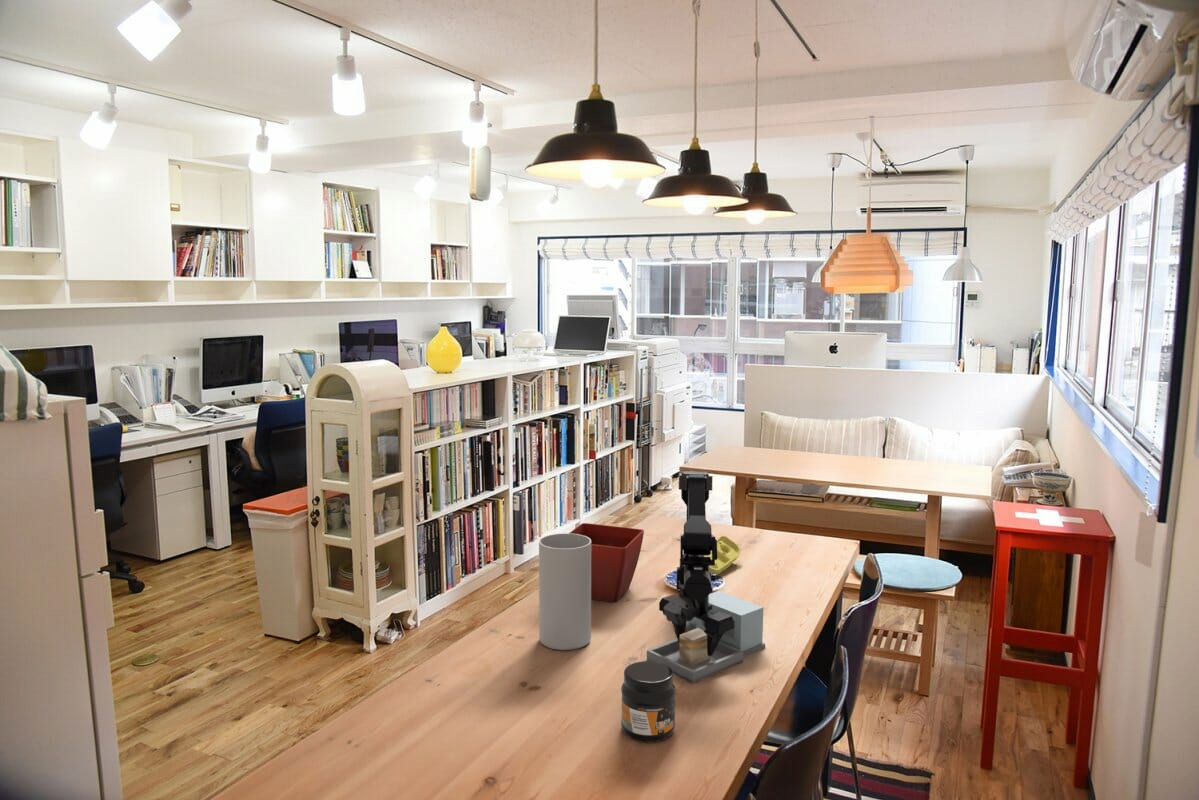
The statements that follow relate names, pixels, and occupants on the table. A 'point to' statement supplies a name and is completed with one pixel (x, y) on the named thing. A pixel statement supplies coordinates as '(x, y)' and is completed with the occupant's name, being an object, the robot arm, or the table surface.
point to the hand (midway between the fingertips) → (695, 648)
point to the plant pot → (611, 558)
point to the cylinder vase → (565, 591)
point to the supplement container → (648, 701)
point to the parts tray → (694, 673)
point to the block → (693, 647)
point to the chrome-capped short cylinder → (691, 625)
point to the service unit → (738, 622)
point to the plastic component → (724, 555)
